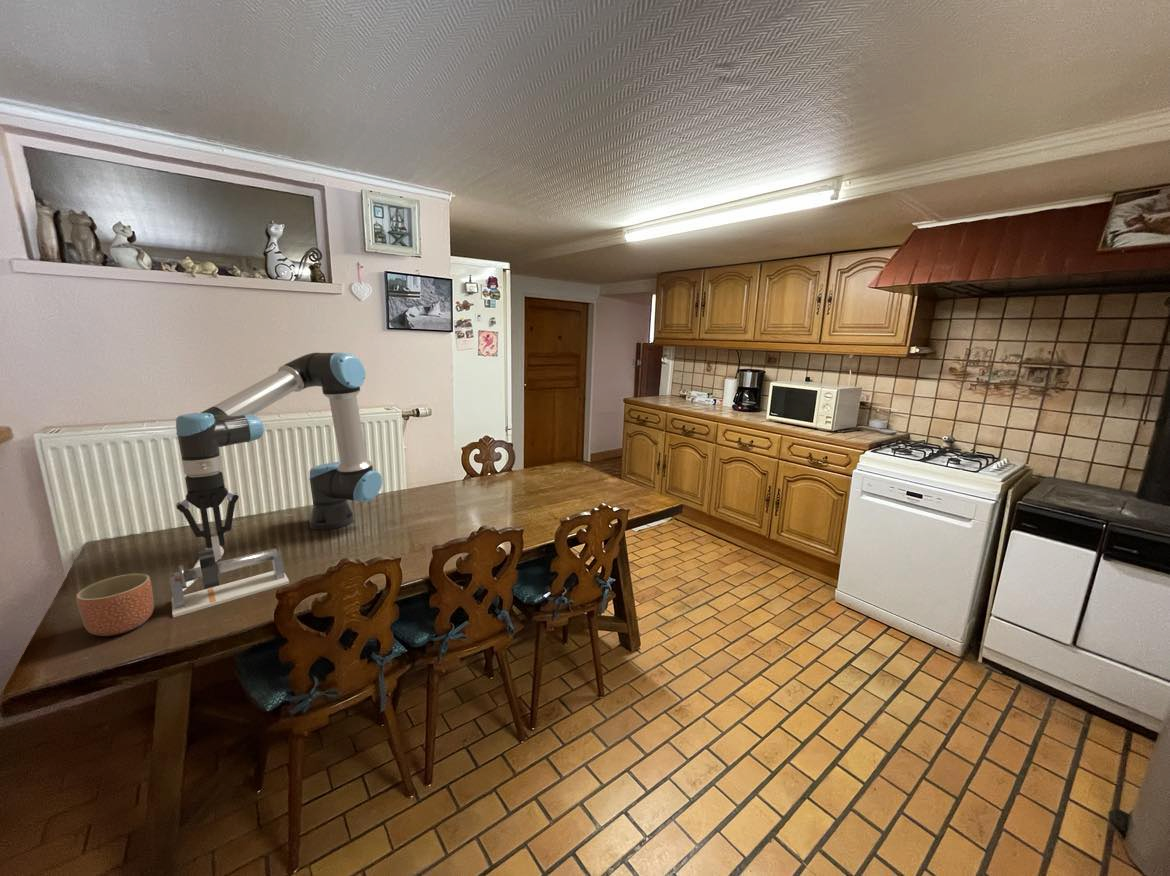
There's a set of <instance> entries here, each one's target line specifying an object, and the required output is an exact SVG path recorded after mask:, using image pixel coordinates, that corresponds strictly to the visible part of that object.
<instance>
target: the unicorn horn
mask: <svg viewBox="0 0 1170 876" xmlns="http://www.w3.org/2000/svg"><path fill="white" fill-rule="evenodd" d="M206 549H208V548H207V547H206V548H205V549H204V550H206ZM209 549H210V548H209ZM220 550H221V557H223V555H224V553H225V550H224V547H223V546H220ZM215 562H216V563H217V562H218V560H215ZM197 567H200V561H199V559H198V560H197V561H196V563H195V564H194V566H193V568H197ZM193 568H192V569H193ZM197 580H198V579H196V580H192V581H188V582H186V586H187V588H184V589H183V592H184V591H185V590H187V589H188V588H189V587H190V586H191V585H193V584H194V582H196V581H197Z"/></svg>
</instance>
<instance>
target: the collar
mask: <svg viewBox="0 0 1170 876" xmlns="http://www.w3.org/2000/svg"><path fill="white" fill-rule="evenodd" d="M205 549H206V548H205ZM205 549H202V550H198V551H197V553H198V554H197V555H198V560H199V561H200V567H201V571H202V577H203V578H202V583H203V587H204V590H205V589H208V588H212V587H216V586H219V585H220V581H219V574H217V568H216V563H217V561H216V562H215V556H214V553H213V549H212V548H210V549H206V550H205Z"/></svg>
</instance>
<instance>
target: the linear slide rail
mask: <svg viewBox="0 0 1170 876" xmlns="http://www.w3.org/2000/svg"><path fill="white" fill-rule="evenodd" d="M283 560H284V559H283V555H282V552H281V551H280V550H279V549H278V550H277V548H276V547H275V548H271V549H267V550H262V551H259V552H255V553H251V554H245V555H241V556H238V557H234V558H231V559H230V558H229V559H225V560H221V561H219V562H218V561H216V568H217V574H218V575H219V574H223V573H227V572H230V571H234V570H239V569H242V568H246V567H249V566H253V565H257V564H262V563H265V562H268V561H271V563H272V569H273V570H272V571H274V576H275V577H276V579H277V580H278V579H281V578H285V575H284V573H285V567H284V561H283ZM173 575H174V576H170V577H169V585H170V590H171V595H172V598H173V602H174V607H175V609H176V608H180V607H183V606H185V600H184V595H185V594H184V591H183V589H184V588H187V589H188V587H187V586H186V582H188V581H192V580H196V579H197V580H198V579H203V577H202V571H201V567H197V568H189V569H184V565H183V564H182V565H181V564H180V565H178V572H177V571H176V572H174V573H173ZM197 580H196V581H197Z"/></svg>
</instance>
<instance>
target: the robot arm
mask: <svg viewBox="0 0 1170 876" xmlns="http://www.w3.org/2000/svg"><path fill="white" fill-rule="evenodd" d="M365 370H366V369H365V367H364V364H363V362H362V361H361V360H360V359H359V358H357V356H355V355H353V354H352V353H344V352H312V353H307V354H304V355H301V356H299V357H297V358H295V359H293V360H291V361H289V362H287V363H285V364H284V365H282V366H279V367H278V369H277V372H275V373H273V374H271V375H269V376H268V377H266V378H263V379H262V380H260V381H258V382H255V384H253V385H251V386H248V387H246V388H245V389H243V390H241V391H239V392H237V393H235V394H234V395H231V396H229V397H228V398H225V399H224V400H222V401H221V402H218V403H216V404H215V405H213V406H211V407H208V408H207V409H205V410H203V411H201V412H192V413H186V414H185V413H184V414H182V415H178V416H177V417H176V419H175V427H176V436H177V439H178V440H177V441H178V446H179V450H180V455H181V462H182V468H183V474H184V475H185V477H184V479H185V486H186V492H187V493H186V495H185V499H183V500H181V502H177V503H176V504H175V507H176V509H177V510H178V511H179V512H181V513H182V514H183V515H184V517H185V520H186V522H187V523H188V524H189V526H190V528H191V530H192V532H193V534H194V536H195V537H196V538H200V537H201V538H204V539H205V545H206V548H208V549H209V548H212V549H213V553H214V556H215V560H217V561H218V560H222V557H223V556H221V550H220V546H221V547H223V546H225V544H226V542H225V535H224V534H225V533H226V532H229V531H231V530H232V525H233V518H234V513H235V505H236V503H237V501H238V500H239V498H240V497H239V494H238V493H237V492H231V491H229V490H228V488H226V487H225V480H224V479H225V478H224V474H223V472H222V471H221V470H222V462H221V455H220V448H222V447H223V448H224V447H227V446H233V445H237V444H243V443H250V442H252V441H255V440H259V439H261V437H262V436H263V435H264V432H265V431H264V430H265V429H264V423H263V421H262V420H261V418H260V417H258V416H257V415H255V414H257V413H259V412H261V411H262V410H264V409H265V408H267V407H269V406H271V405H273V404H275V403H276V402H277V401H279V400H281V399H283V398H285V397H286V396H287V395H290V394H291V393H294V392H295V393H298V392H301V391H303V390H304V389H308V388H312V387H321V389H322V390H321V391H322V394H323V395H324V396H325V397H326V398H327V399H328V401H329V406H330V412H331V418H332V421H333V422H332V423H333V428H334V433H335V439H336V443H337V449H338V450H337V451H338V455H339V461H334V462H327V463H323V464H319V465H316V466H315V465H314V466H313V467H311V468H310V470H309V473H308V474H309V486H310V491H311V498H312V499H311V500H312V509H311V513H310V516H309V526H310V527H309V528H311V529H313V530H318V531H321V530H322V531H325V530H327V531H328V530H334V529H338V528H342V527H345V526H347V525H348V526H349V525H350V524H352V523H353V522H354V521H355V513H354V511H353V508H352V507H351V505H350V502H349V501H355V502H357V503H358V502H359V503H360V502H370V501H372V500H373V499H375V498H376V497H377V496H378V494H379V492H380V490H381V488H382V484H383V479H382V475H381V473H379V471H377V470H374V467H373V462H372V461H371V460H369V459H368V458H367V457H368V456H367V451H366V446H365V440H364V433H363V428H362V421H361V416H360V409H359V404H358V398H357V395H358V394H359V393H360V392H361V386H362V385H363V384H364V382H365V379H366V371H365ZM225 498H226V500H227V501H228V502H227V509H226V515H225V520H224V521H225V522H224V525H223V523H222V516H221V511H220V506H221V504H222V503H223V501H224V500H225ZM189 503H190V504H191V505H193V506H194V507H195V508H196V509H199V511H200V516H201V522H202V523H201V524H202V529H203V530H201V529H200V527H199V525H198V523H197V521H196V520H195V518H194V517H193V516H194V515H192V512H191V511H190V509H189V508H190V505H189ZM209 508H211V509H212V511H213V519H214V523H215V524H214V525H215V530H216V532H215V533H211V528H210V521H209V515H208V509H209Z"/></svg>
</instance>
